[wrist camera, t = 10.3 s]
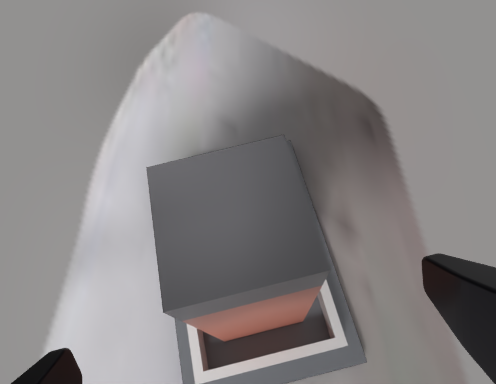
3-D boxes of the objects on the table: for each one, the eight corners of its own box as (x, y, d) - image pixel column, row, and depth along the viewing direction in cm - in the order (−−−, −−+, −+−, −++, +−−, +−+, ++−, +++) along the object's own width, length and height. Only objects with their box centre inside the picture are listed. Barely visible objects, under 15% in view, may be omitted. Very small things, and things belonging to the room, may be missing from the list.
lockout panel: (363, 362, 20) (380, 361, 17) (189, 407, 19) (172, 415, 16) (289, 146, 26) (291, 115, 23) (159, 177, 26) (142, 150, 23)
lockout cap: (302, 321, 20) (331, 270, 9) (224, 341, 20) (163, 312, 9) (281, 246, 22) (284, 134, 12) (210, 264, 22) (146, 167, 11)
